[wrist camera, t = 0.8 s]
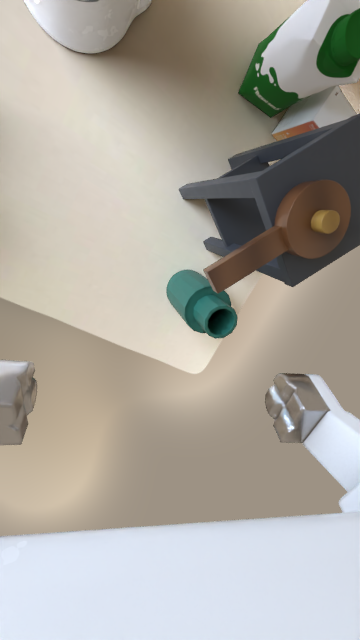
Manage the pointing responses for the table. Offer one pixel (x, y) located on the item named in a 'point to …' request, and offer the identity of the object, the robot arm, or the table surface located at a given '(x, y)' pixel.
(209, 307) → the bottle
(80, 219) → the table surface
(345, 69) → the milk carton
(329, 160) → the stand
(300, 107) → the small box
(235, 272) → the lid
